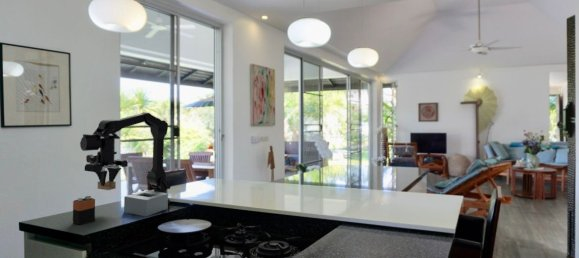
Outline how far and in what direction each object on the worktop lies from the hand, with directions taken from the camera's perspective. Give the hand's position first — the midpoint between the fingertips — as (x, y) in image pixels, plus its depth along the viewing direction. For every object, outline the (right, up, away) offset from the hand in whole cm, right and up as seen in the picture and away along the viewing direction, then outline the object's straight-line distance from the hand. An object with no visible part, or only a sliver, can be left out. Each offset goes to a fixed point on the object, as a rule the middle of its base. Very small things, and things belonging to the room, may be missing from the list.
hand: (106, 184), depth 169 cm
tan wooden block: (0, -2, 0) cm, 2 cm away
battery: (-2, -13, -16) cm, 20 cm away
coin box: (+16, -12, +4) cm, 20 cm away
